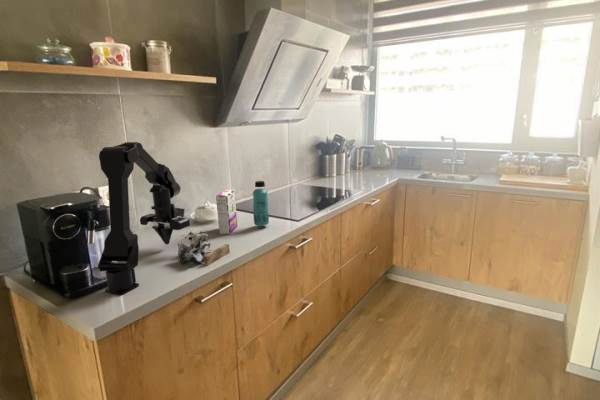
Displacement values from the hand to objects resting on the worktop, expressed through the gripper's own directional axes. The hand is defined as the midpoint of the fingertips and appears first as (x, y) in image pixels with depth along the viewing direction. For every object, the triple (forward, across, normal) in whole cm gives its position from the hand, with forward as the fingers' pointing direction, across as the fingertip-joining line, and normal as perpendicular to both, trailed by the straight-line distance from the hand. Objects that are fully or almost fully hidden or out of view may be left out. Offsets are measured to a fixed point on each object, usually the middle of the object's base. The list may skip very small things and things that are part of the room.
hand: (167, 243), depth 130 cm
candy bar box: (+3, -7, -27) cm, 28 cm away
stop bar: (+2, -22, 0) cm, 22 cm away
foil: (+2, -15, +2) cm, 15 cm away
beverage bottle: (+3, -18, -36) cm, 40 cm away
